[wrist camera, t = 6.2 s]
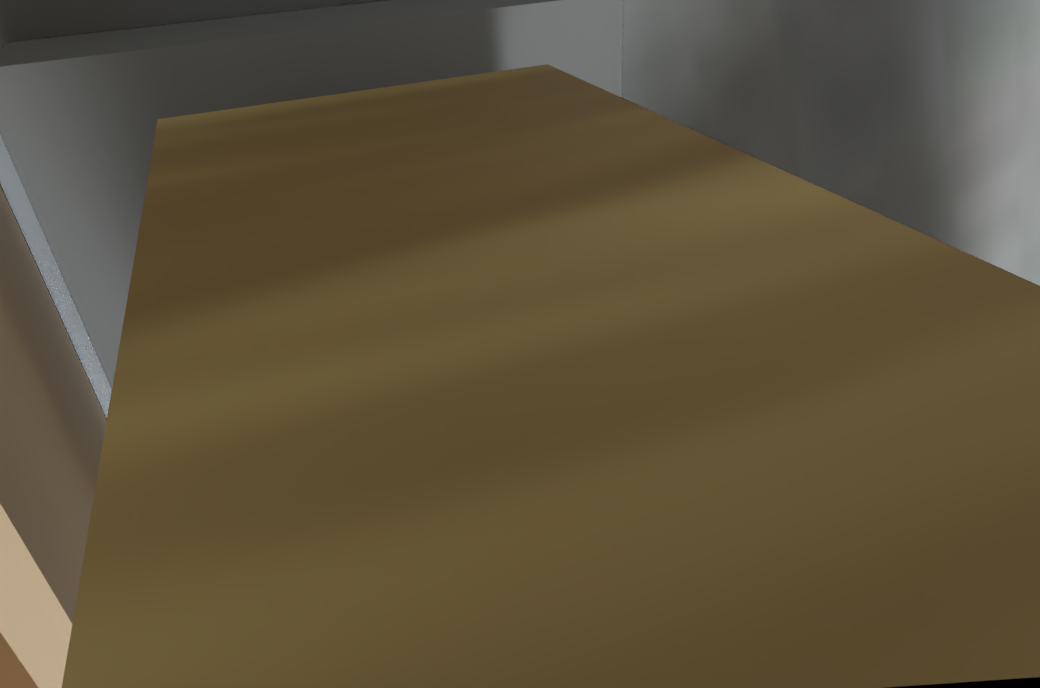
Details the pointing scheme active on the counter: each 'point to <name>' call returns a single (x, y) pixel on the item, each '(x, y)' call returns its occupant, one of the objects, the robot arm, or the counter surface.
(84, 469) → the wooden tray
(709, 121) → the counter surface
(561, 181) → the brown wooden block
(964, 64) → the counter surface
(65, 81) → the trivet
